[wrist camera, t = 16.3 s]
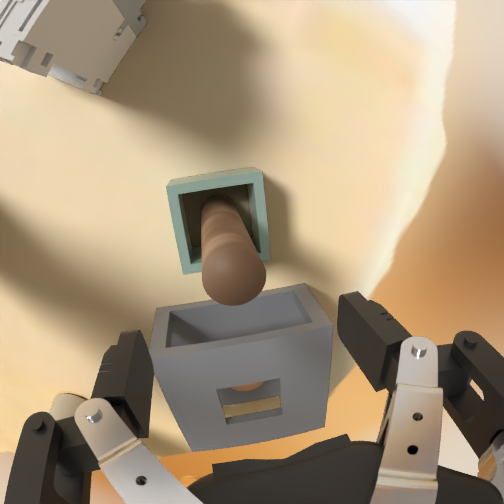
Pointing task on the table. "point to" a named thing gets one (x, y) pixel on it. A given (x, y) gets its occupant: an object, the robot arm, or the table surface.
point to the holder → (179, 186)
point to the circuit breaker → (69, 37)
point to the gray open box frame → (244, 366)
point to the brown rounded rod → (228, 254)
